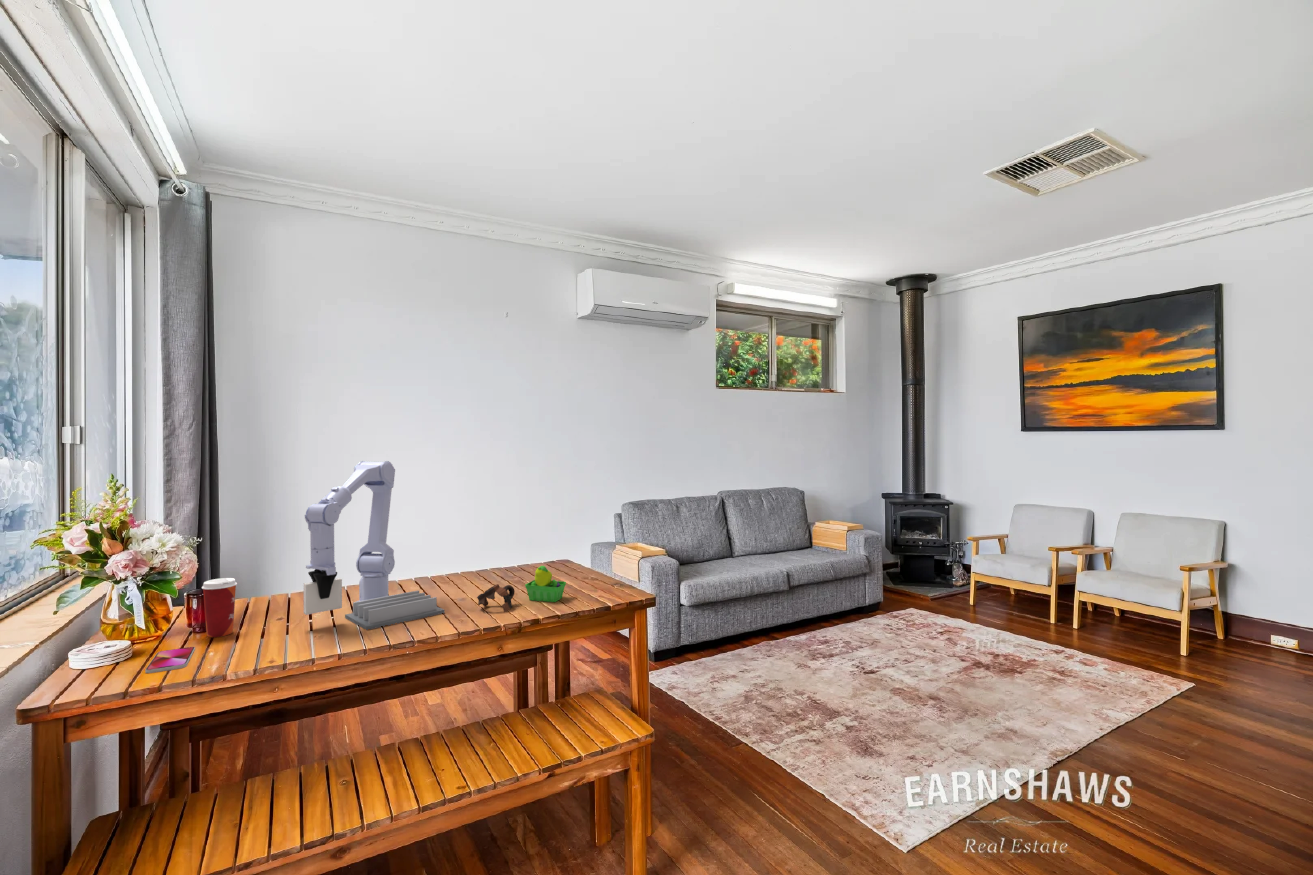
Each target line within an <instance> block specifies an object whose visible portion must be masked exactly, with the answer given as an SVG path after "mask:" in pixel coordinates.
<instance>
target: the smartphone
mask: <svg viewBox="0 0 1313 875" xmlns="http://www.w3.org/2000/svg"><path fill="white" fill-rule="evenodd" d="M195 650H196V647H195V646H188V647H182V648H176V649H175V648H174V649H167V650H166V649H165V650H161V651H158V652H156V654H155V655H154V657H153V658H152V659H151V660H150V662H149V663H148V665H147V666H146V667H145V671H144V672H145V674H155V673H160V672H161V673H162V672H165V671H172V670H179V669H183V668H186V667H187V666H188V665H189V662H190V661H191V659H192V656H193V654H194V653H195Z"/></svg>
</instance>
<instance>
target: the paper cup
mask: <svg viewBox="0 0 1313 875" xmlns="http://www.w3.org/2000/svg"><path fill="white" fill-rule="evenodd" d="M237 585H238V583H237V582H236V578H233V577H222V578H215V579H214V578H213V579H209V580H205V581H204V582H203V584H202V586H201V589H202V592H203V605H204V619H205V631H206V636H207V637H208V638H219V637H224V636H228V635H231V634H233V631H234V621H235V605H236V588H237Z"/></svg>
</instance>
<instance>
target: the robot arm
mask: <svg viewBox="0 0 1313 875" xmlns="http://www.w3.org/2000/svg"><path fill="white" fill-rule="evenodd" d="M395 473H396V469H395V467H394V465H393V464H392V462H391V461H389V460H386V461H385V460H384V461H369V460H368V461H367V460H366V461H365V460H360V461H359V462H358V463H357V464H355V466H354V467H353V472H352V474H350V476H349V477H348V479H347V480H346V481H345V482H344V483H343V484H342V485H341V486H340V485H339V486H333V487H331V489H330V491H329V492H328V493H327V494H326V495H325V496H323V497H322V498H321V499H320V500H319V501H318V503H312V504H311V505H309V506H308V507H307V509H306V511H305V514H304V520H305V522H306V524H307V529H308V532H310V541H309V542H310V545H309V546H310V561H309V562H310V563H309V564H306V565H305V569H308V570H311V569H312V571H308V575H309V577H310V579H311V582H317V586H318V592H319V597H320V599H325V598H329V596H330V592H331V588H332V584H333V581H334V579H336V577H337V575H338V572H337V568H336V562H335V524H336V523H337V522H338V521H339V517H340V514H342V510H343V509H344V508H345V507H346V506H347V505H348V504H349V503H350V502H351V501H352V498H353V497H352V496H353V494H354V493H355V492H356V491H357V490H358V489H359V488H361V487H362V486H364V487H367V488H368V489H370V490H371V492H372V500H371V510H370V516H369V517H370V518H369V526H368V538H367V543H366V544H364V545H362V547H361V548H360V549H359V552H358V555H357V556H358V557H357V559H356V561H355V567H356V570H357V572H358V573H359V575H360V580H359V584H358V585H359V586H358V587H359V591H358V592H359V595H358V596H359V597H358V598H359V600H356V601H355V602H358V601H364V600H369V599H374V598H380V597H385V596H389V575H391V574H392V571H393V569H394V568H395V563H396V561H395V555H394V553H395V550H394V549H393V547H391V546H390V545H389V544H388V543H387V537H388V528H389V521H390V520H389V519H390V518H389V517H390V508H391V500H392V490H393V488H394V486H395V476H396V474H395Z"/></svg>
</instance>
